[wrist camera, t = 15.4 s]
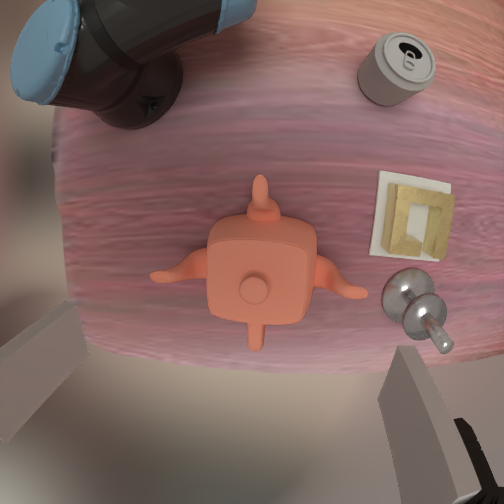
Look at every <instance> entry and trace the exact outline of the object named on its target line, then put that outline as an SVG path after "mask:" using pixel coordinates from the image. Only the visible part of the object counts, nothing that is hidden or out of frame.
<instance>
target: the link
mask: <svg viewBox="0 0 504 504" xmlns="http://www.w3.org/2000/svg"><path fill="white" fill-rule="evenodd" d="M454 201H455V195H451V194H447V193H443V192H438V191H433V190H428V189H423V188H417V187H412V186H406V185H400V184H394V183H389V185H388V195H387V203H386V212H385V219H384V226H383V233H382V240H381V247H382V248H383V249H384V250H385V251H386V252H387V253H388V254H395V255H405V256H414V257H420V254H421V249H422V251H424V252H425V253H426V254H428V255H429V256H430V257H432V258H433V259H443V260H444V259H445V254H446V250H447V245H448V239H449V234H450V228H451V222H452V216H453V209H454ZM410 202H411V203H417V204H423V205H429V212H428V219H427V226H426V232H425V237H424V243H422V242H421V241H419V240H418V239H416V238H415V237H413V236H411V235H406V230H407V224H408V217H409V210H410ZM422 244H423V248H422Z"/></svg>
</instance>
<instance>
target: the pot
mask: <svg viewBox="0 0 504 504" xmlns="http://www.w3.org/2000/svg"><path fill="white" fill-rule="evenodd" d="M149 277H150V279H151V280H153V281H155V282H158V283H172V282H178V281H183V280H188V279H198V278H204V279H206V284H207V299H208V307H209V310H210V312H211V313H212V314H213V315H215V316H217V317H220V318H224V319H228V320H232V321H238V322H244V323H247V343H248V347H249V349H250V350H252V351H259V350H261V349H262V347H263V342H264V335H265V326H266V325H284V324H293V323H297V322H299V321H300V320H301V319H302V318H303V317H304V315H305V313H306V311H307V309H308V307H309V305H310V301H311V296H312V292H313V287H317V288H324V289H328V290H330V291H332V292H334V293H336V294H338V295H340V296H343V297H346V298H349V299H363V298H366V297H367V296H368V291H367V290H366V289H364V288H362V287H359V286H356V285H353V284H351V283H349V282H347V281H346V280H345V279H344V278H343V276H342V275H341V273H340V272H339V270H338V268H337V267H336V265H335V264H334V263H333V262H332V261H330V260H329V259H327V258H325V257H323V256H321V255H318V254H317V235H316V231H315V229H314V227H313V226H312V225H311V224H309V223H307V222H305V221H302V220H299V219H295V218H291V217H287V216H282V215H281V214H280V208H279V205H278V204H277V203H276V202H275V201H274V200H273V199H271V198H269V196H268V184H267V180H266V178H265V177H264V176H263V175H261V174H260V175H257V176H256V178H255V179H254V182H253V186H252V199H251V201H250V202H249V204H248V208H247V214H240V215H233V216H228V217H224V218H222V219H220V220H218V221H217V222H216V223H215V224H214V225H213V227H212V228H211V230H210V233H209V236H208V242H207V247H206V248H202V249H198V250H196V251H194V252H192V253H190V254H189V255H188V256H187V257H185V258H184V259H183V260H182V261H181V262H180V263H179V264H177V265H176V266H174V267H172V268H169V269H165V270H159V271H154V272H152V273H151V274H150V275H149Z"/></svg>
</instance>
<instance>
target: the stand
mask: <svg viewBox="0 0 504 504" xmlns="http://www.w3.org/2000/svg"><path fill="white" fill-rule="evenodd" d="M382 305H383V308H384V310H385V312H386V314H387V315H388V317H389V318H391V319H392V320H394V321H396V322H399V323H402V326H403V329H404V330H405V332H406V334H407V335H408V336H409V337H410V338H411V339H414V340H425V339H428V338H431V340H432V341H433V343H434V344H435V346H436V347H437V349H438V350H439V352H440V353H441V354H447V353H448V352H450V351H451V350H452V348H453V345H454V343H453V341H452V340H451V338H450V337H449V336H448V334H447V333H446V332H445V330H444V329H443V328H442V326H443V324H444V322H445V320H446V317H447V307H446V304H445V302H444V301H443V300H442V299H441V298H440V297H439V296H438V295H436V294H434V284H433V282H432V279H431V278H430V277H429V276H428V275H427V274H426V273H425V272H424V271H422V270H421V269H418V268H406V269H403V270H401V271H399V272H397V273H396V274H394V275H393V276H392V277H391V278H390V279H389V281H388V282H387V283H386V285H385V287H384V290H383V293H382Z"/></svg>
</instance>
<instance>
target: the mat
mask: <svg viewBox="0 0 504 504" xmlns="http://www.w3.org/2000/svg"><path fill="white" fill-rule="evenodd" d="M389 183H394V184H400V185H406V186H412V187H417V188H423V189H428V190H433V191H438V192H443V193H447V194H450V191H451V184H449V183H444V182H440V181H435V180H430V179H425V178H420V177H415V176H410V175H404V174H399V173H393V172H387V171H380V170H379V172H378V184H377V194H376V203H375V211H374V219H373V227H372V234H371V240H370V247H369V253H368V254H369V255H376V256H386V257H396V258H406V259H416V260H426V261H436V262H439V259H433V258H432V257H430V256H429V255H428V254H426V253H425V252H424V251H422V249H421V254H420V257H414V256H405V255H395V254H388V253H387V252H386V251H385V250H384V249H383V248H382V247H381V240H382V233H383V226H384V219H385V212H386V203H387V195H388V185H389ZM428 212H429V205H423V204H417V203H411V202H410V210H409V217H408V224H407V230H406V235H411V236H413V237H415V238H416V239H418V240H419V241H421V242H422V243H424V237H425V232H426V226H427V219H428ZM422 248H423V244H422Z"/></svg>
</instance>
